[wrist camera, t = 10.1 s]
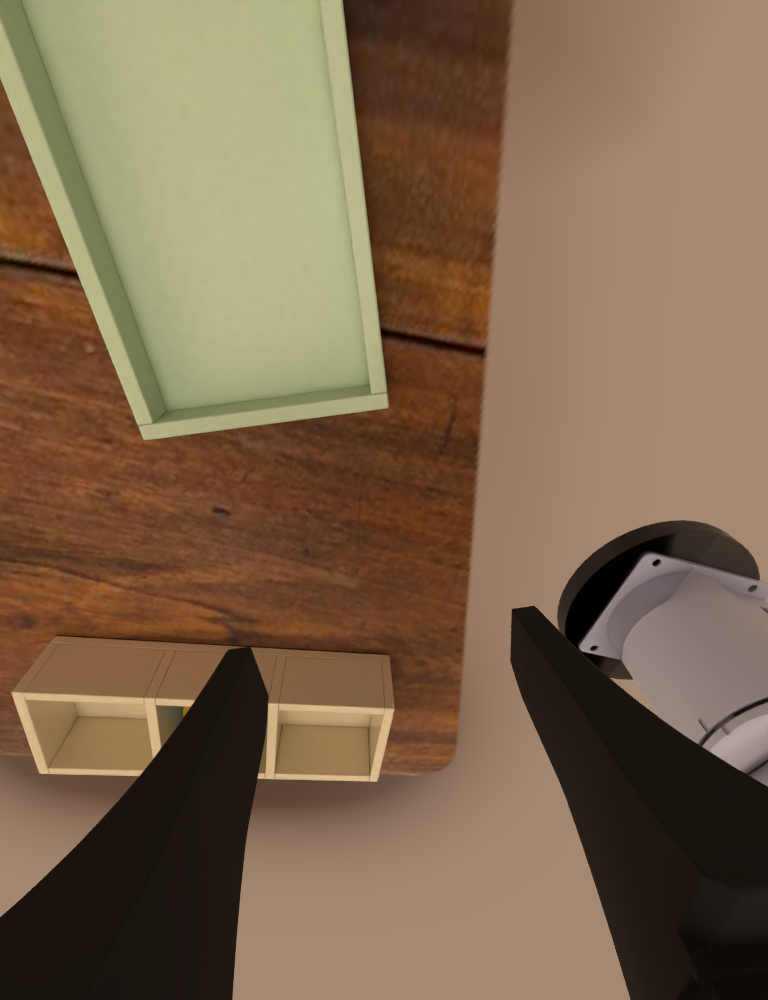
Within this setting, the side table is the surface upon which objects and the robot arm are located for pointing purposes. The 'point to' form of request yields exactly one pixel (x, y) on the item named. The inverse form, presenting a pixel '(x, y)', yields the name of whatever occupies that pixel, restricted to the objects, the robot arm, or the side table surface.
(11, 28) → the tray
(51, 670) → the three-compartment organizer
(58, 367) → the side table surface
